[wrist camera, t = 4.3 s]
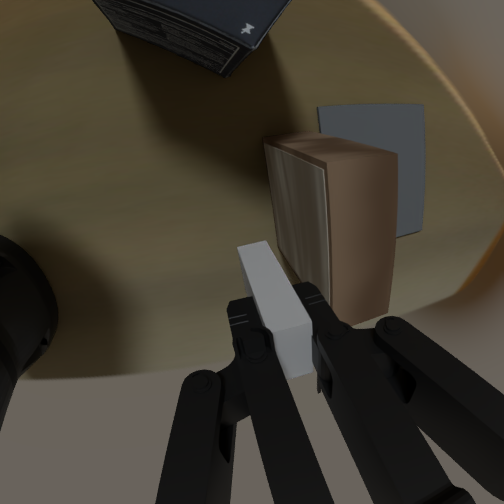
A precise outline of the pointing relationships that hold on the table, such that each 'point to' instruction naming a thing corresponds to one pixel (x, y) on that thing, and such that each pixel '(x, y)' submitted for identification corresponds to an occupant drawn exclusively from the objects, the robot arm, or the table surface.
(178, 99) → the table surface
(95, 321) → the table surface
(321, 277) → the brown rectangular box
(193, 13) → the small box
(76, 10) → the table surface
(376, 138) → the mat
